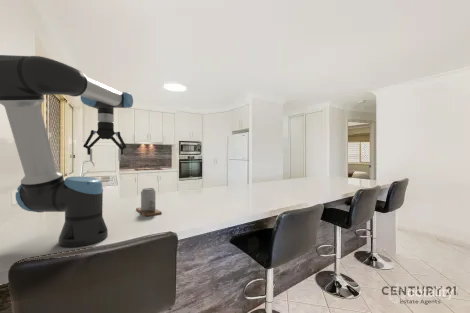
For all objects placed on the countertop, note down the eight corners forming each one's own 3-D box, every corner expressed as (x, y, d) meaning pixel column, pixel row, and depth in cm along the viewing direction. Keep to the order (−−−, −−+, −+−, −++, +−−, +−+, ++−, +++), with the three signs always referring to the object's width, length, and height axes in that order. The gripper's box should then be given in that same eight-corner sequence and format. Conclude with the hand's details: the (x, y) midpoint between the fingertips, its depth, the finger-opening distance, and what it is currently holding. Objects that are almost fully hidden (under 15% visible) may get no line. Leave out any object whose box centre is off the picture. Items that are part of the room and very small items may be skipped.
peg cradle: (161, 214, 116) (161, 200, 116) (146, 216, 111) (146, 202, 111) (150, 208, 129) (150, 196, 129) (136, 210, 124) (136, 197, 124)
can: (147, 212, 115) (147, 189, 115) (138, 210, 119) (138, 188, 119) (158, 209, 122) (158, 188, 122) (149, 207, 125) (149, 187, 125)
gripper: (128, 124, 129) (128, 160, 129) (77, 120, 113) (77, 161, 113) (132, 123, 123) (132, 160, 123) (78, 118, 107) (78, 161, 107)
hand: (105, 161), depth 118 cm, fingers open, 13 cm apart
